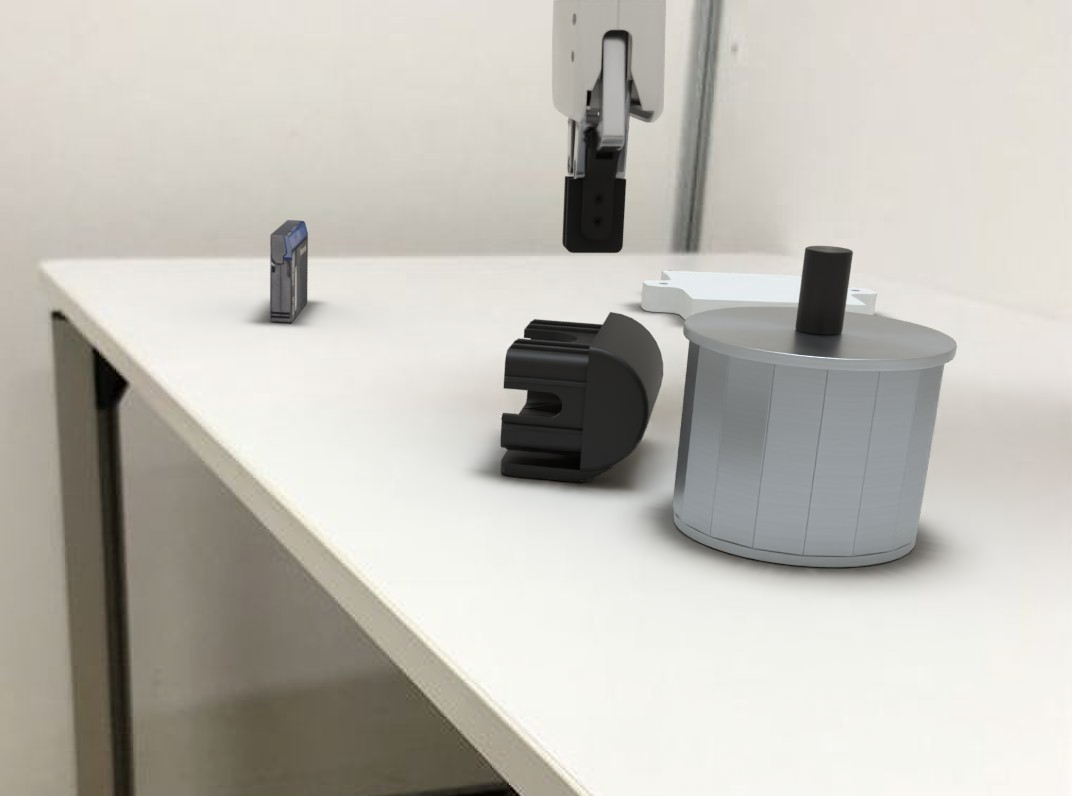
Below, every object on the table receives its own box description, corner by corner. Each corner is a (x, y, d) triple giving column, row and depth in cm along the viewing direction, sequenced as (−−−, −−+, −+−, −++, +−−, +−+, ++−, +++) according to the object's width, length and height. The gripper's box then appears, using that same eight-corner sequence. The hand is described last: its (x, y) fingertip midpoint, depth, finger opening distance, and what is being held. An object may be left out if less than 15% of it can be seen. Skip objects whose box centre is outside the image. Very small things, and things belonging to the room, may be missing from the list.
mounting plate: (847, 301, 132) (850, 277, 131) (896, 332, 120) (900, 306, 119) (628, 293, 131) (630, 269, 130) (656, 324, 119) (658, 297, 118)
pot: (871, 496, 79) (897, 322, 76) (950, 570, 69) (984, 373, 66) (653, 491, 78) (670, 315, 75) (700, 565, 68) (722, 365, 65)
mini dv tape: (291, 323, 113) (292, 235, 111) (270, 322, 113) (270, 234, 111) (307, 302, 121) (308, 220, 119) (287, 301, 121) (287, 219, 119)
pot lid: (901, 333, 76) (916, 234, 75) (994, 390, 66) (1014, 275, 64) (659, 326, 76) (668, 225, 74) (713, 382, 65) (726, 266, 63)
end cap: (641, 491, 78) (654, 352, 75) (496, 478, 79) (504, 340, 77) (657, 441, 87) (669, 315, 85) (527, 429, 88) (534, 305, 86)
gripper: (710, -115, 78) (684, 271, 85) (652, -97, 92) (634, 233, 99) (556, -117, 77) (542, 271, 84) (521, -99, 91) (512, 233, 98)
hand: (592, 250), depth 91 cm, fingers closed
